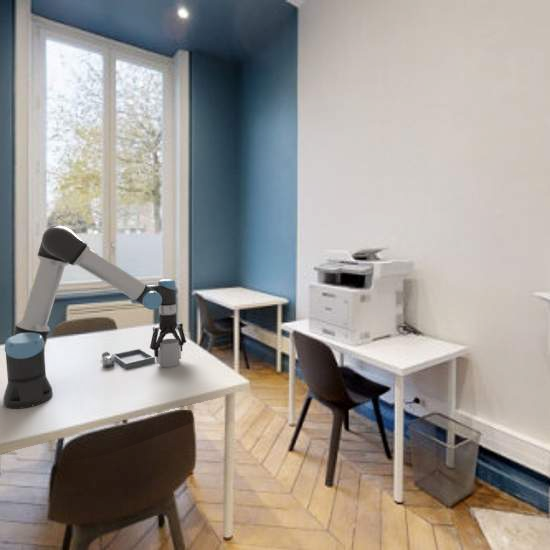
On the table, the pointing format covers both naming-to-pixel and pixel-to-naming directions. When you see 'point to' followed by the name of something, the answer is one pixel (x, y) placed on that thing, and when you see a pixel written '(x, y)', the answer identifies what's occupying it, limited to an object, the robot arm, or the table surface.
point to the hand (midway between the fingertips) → (168, 360)
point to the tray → (133, 358)
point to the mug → (169, 353)
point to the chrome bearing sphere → (108, 361)
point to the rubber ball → (105, 354)
